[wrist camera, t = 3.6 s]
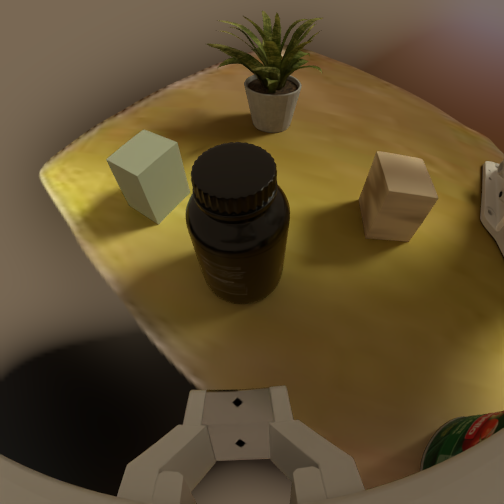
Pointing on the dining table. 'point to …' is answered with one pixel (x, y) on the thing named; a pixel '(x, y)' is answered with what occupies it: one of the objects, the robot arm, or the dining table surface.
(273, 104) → the house plant
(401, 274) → the dining table surface
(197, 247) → the supplement bottle
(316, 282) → the dining table surface
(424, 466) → the canned tomato
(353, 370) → the dining table surface
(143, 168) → the sage block
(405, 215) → the oak block
